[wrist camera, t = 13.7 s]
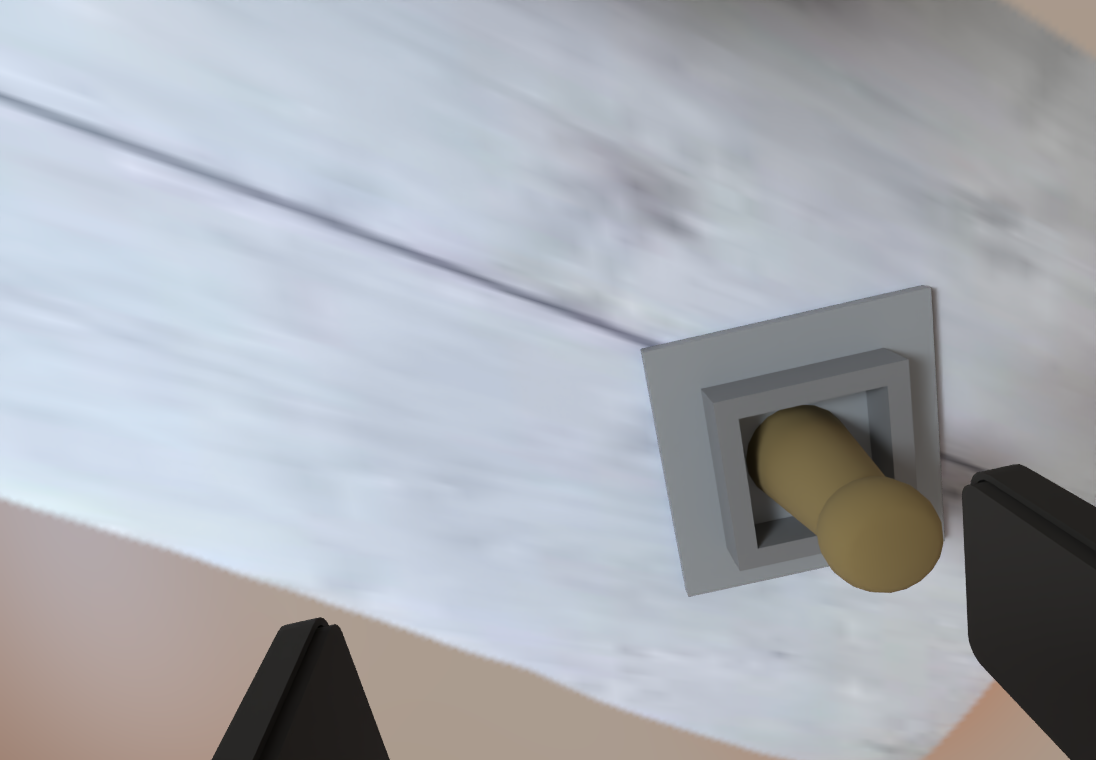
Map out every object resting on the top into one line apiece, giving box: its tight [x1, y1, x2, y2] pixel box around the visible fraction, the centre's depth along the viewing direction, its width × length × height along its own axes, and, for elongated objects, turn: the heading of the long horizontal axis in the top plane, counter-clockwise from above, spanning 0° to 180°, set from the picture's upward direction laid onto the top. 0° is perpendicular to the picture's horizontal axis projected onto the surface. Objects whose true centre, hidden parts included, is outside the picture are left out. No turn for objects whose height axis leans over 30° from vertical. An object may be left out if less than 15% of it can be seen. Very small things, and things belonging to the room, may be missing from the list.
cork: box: [746, 405, 943, 593], centre depth 34 cm, size 6×6×11 cm
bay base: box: [641, 285, 945, 597], centre depth 39 cm, size 16×16×3 cm
